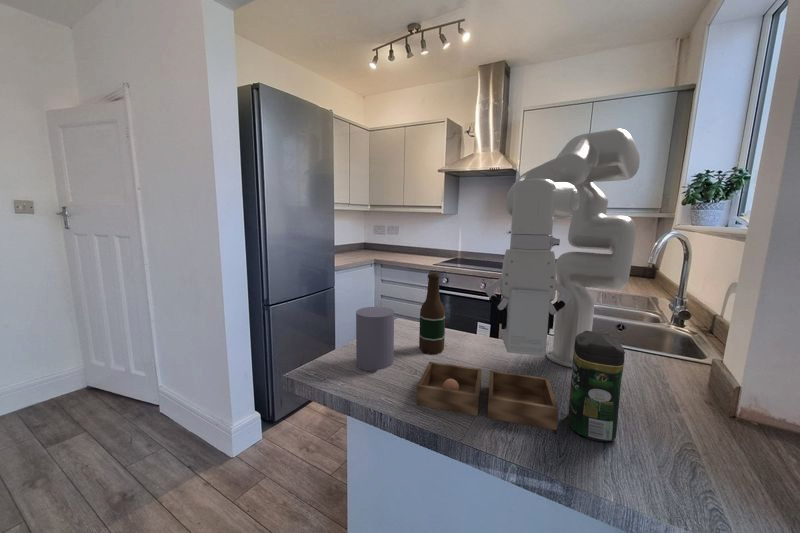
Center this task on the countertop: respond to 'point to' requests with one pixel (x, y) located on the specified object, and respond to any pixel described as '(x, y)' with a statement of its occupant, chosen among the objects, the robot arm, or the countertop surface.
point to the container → (374, 338)
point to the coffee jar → (596, 385)
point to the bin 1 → (446, 399)
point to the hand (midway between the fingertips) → (524, 329)
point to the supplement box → (527, 322)
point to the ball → (451, 384)
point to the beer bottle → (432, 319)
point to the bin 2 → (522, 400)
